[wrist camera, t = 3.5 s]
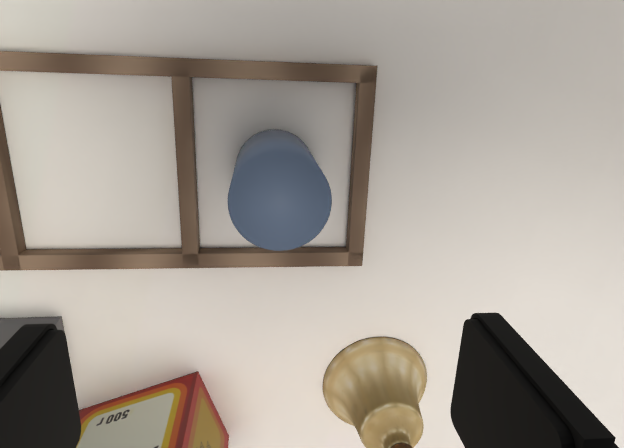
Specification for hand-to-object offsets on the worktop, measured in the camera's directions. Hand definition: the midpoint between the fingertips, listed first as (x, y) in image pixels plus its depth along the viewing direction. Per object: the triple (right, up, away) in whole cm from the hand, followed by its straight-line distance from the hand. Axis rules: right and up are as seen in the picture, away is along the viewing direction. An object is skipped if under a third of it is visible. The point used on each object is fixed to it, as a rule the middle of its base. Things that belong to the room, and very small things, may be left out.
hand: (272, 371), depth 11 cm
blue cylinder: (-1, +7, +19) cm, 20 cm away
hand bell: (+6, -9, +25) cm, 27 cm away
